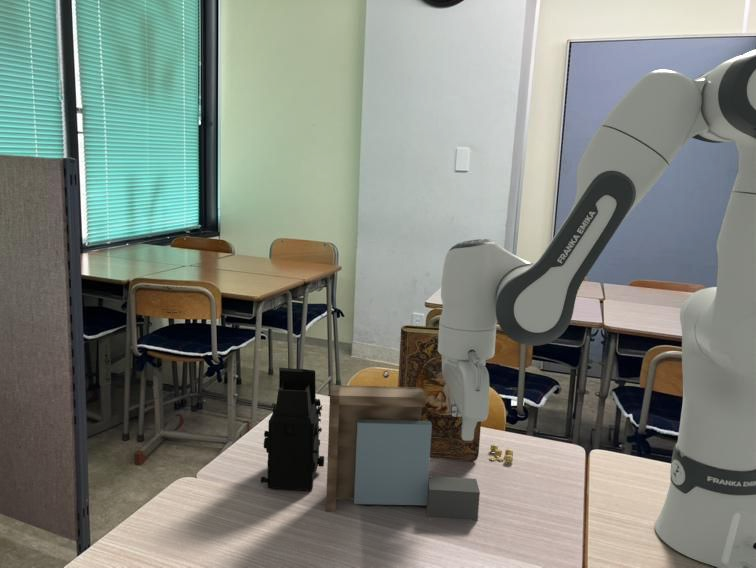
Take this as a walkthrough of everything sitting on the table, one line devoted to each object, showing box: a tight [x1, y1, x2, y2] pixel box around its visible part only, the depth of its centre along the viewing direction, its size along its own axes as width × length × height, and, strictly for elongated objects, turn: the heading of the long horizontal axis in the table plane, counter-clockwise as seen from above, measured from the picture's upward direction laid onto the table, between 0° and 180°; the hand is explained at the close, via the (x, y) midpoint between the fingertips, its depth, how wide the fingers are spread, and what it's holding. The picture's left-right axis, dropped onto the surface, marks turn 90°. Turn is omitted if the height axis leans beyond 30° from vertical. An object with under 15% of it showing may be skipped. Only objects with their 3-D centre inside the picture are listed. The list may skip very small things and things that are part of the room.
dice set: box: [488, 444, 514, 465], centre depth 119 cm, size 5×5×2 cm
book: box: [397, 324, 482, 462], centre depth 118 cm, size 16×6×25 cm, turn 84°
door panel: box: [353, 419, 432, 506], centre depth 98 cm, size 12×2×14 cm, turn 93°
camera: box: [260, 367, 325, 492], centre depth 107 cm, size 10×14×20 cm
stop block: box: [425, 475, 481, 522], centre depth 98 cm, size 8×4×5 cm, turn 88°
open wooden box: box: [325, 384, 426, 512], centre depth 98 cm, size 15×5×20 cm, turn 93°
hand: (461, 426), depth 96 cm, fingers open, 8 cm apart
